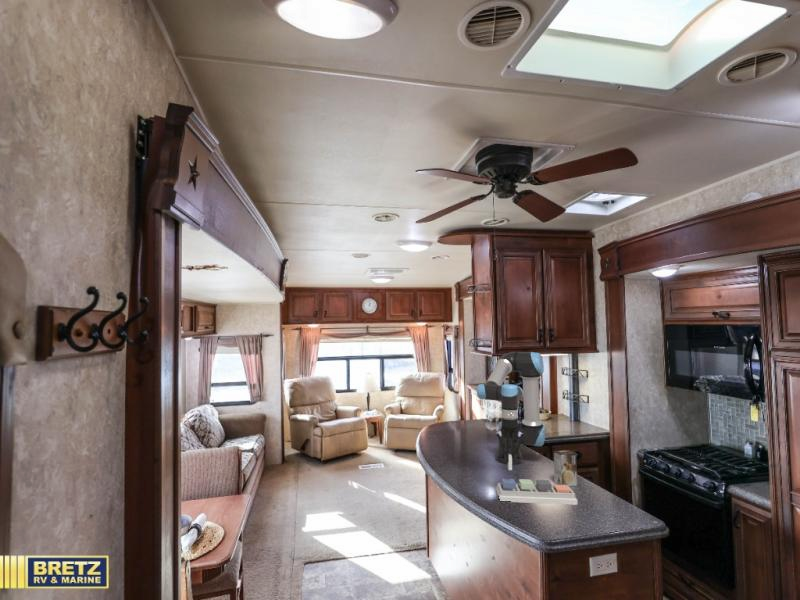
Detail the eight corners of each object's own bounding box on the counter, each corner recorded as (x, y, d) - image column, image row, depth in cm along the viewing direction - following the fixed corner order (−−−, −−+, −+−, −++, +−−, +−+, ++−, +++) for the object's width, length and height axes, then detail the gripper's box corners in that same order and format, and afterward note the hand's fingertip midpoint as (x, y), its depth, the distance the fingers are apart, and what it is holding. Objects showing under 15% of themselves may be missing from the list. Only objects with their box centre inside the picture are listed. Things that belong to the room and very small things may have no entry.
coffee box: (569, 481, 219) (568, 449, 220) (577, 485, 213) (577, 453, 214) (553, 483, 217) (553, 450, 217) (561, 487, 210) (561, 454, 211)
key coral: (553, 490, 201) (553, 484, 201) (566, 490, 200) (565, 485, 200) (557, 494, 195) (557, 489, 195) (569, 495, 194) (569, 489, 195)
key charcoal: (536, 485, 201) (536, 479, 201) (548, 485, 201) (548, 480, 201) (539, 489, 196) (539, 484, 196) (551, 490, 195) (551, 484, 195)
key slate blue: (501, 483, 203) (501, 478, 203) (513, 484, 202) (513, 478, 202) (503, 488, 197) (503, 482, 197) (516, 488, 197) (515, 483, 197)
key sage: (519, 484, 202) (518, 479, 202) (531, 485, 202) (531, 479, 202) (521, 489, 196) (521, 483, 197) (533, 489, 196) (533, 484, 196)
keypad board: (496, 490, 206) (496, 481, 206) (568, 493, 203) (568, 484, 204) (500, 501, 193) (500, 492, 194) (577, 504, 190) (577, 495, 191)
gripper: (496, 419, 198) (497, 471, 197) (525, 420, 197) (525, 472, 196) (494, 416, 206) (494, 466, 204) (522, 416, 205) (522, 466, 203)
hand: (509, 469), depth 200 cm, fingers closed
